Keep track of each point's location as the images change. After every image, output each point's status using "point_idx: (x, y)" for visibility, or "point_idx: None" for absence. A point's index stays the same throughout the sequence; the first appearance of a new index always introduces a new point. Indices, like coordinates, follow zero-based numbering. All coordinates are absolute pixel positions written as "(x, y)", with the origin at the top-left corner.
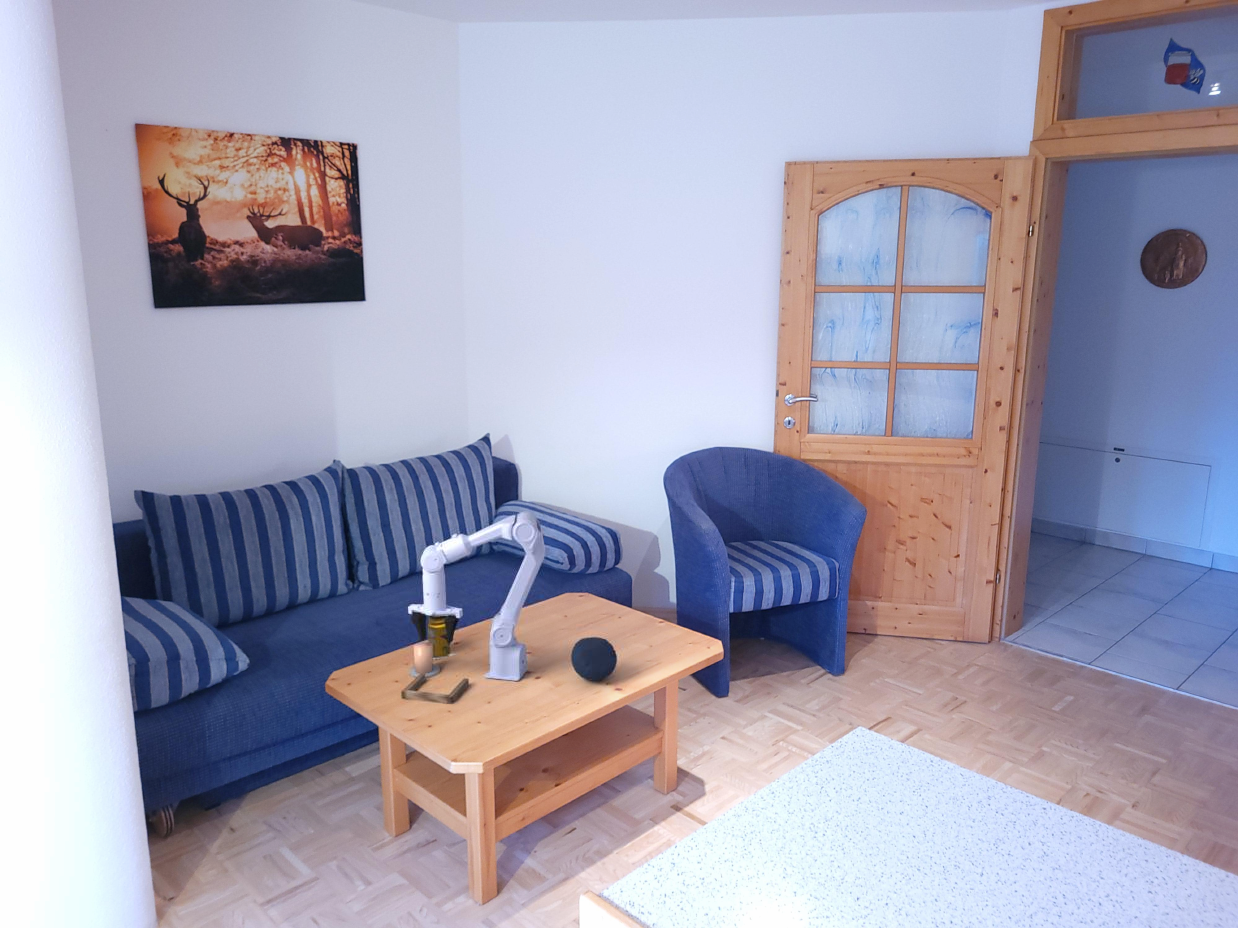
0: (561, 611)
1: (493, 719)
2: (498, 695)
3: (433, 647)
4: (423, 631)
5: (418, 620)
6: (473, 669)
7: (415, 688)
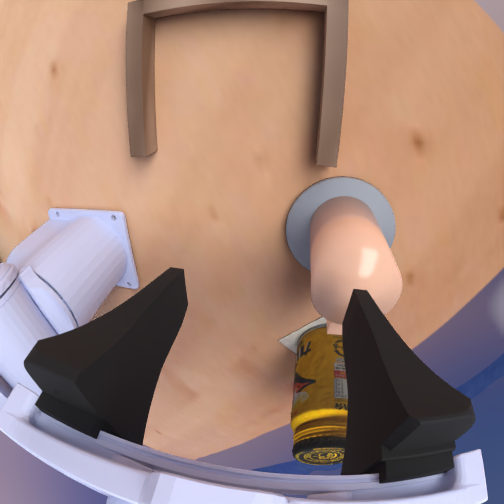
0: (172, 441)
1: (28, 4)
2: (50, 116)
3: (339, 348)
4: (356, 346)
5: (402, 407)
6: (184, 262)
7: (322, 71)
